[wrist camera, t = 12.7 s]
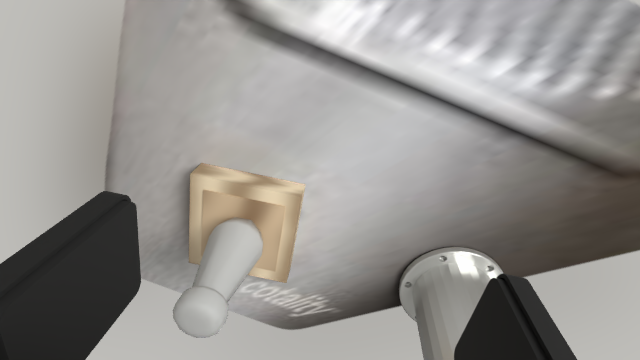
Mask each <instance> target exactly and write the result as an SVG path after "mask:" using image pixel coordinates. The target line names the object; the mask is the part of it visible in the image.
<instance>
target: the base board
mask: <svg viewBox="0 0 640 360" xmlns="http://www.w3.org/2000/svg"><path fill="white" fill-rule="evenodd" d="M304 190H305V184H300V183H296V182H291V181H286V180H281V179H276V178H271V177H267V176H262V175H257V174H252V173H247V172H242V171H237V170H233V169H228V168H223V167H218V166H213V165H208V164H203V163H201V164H200V165H199V166H198V167H197V168H196V169H195V170H194V171H193V172H192V173H191V174H190V220H189V263H193V264H198V265H200V263H201V260H202V257H203V254H204V251H205V248H206V245H207V242H208V239H209V236H210V235H211V233H212V231H213V230H214V228H215V227H216V226H217V225H219V224H221V223H223V222H225V221H227V220H230V219H232V218H234V217H237V218H243V219H249V220H252V221H253V223H254V224H255V225H256V227H257V228H258V229H259V231H260V232H261V235H262V240H263V250H262V256H261V257H260V258H259V260H258V261H257V263H256V264H255V265H254V267H253V268H252V269H251V271H250V272H249V274H248V275H251V276H255V277H260V278H265V279H270V280H274V281H279V282H284V283H286V282H287V279H288V275H289V271H290V267H291V262H292V257H293V251H294V245H295V240H296V234H297V229H298V223H299V218H300V212H301V207H302V201H303V196H304Z"/></svg>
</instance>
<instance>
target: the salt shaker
mask: <svg viewBox="0 0 640 360" xmlns="http://www.w3.org/2000/svg"><path fill="white" fill-rule="evenodd" d="M262 250H263V240H262V235H261V232H260V231H259V229H258V228H257V227H256V225H255V224H254V223H253V221H252V220H249V219H243V218H237V217H234V218H232V219H230V220H227V221H225V222H223V223H221V224H219V225H217V226H216V227H215V228H214V230H213V231H212V233H211V235H210V236H209V239H208V242H207V245H206V248H205V251H204V254H203V257H202V260H201V263H200V266H199V269H198V272H197V275H196V277H195V280H194V283H193V286H192V288H190V289H187V290H186V291H184V293H183V294H182V295H181V297H180V298H179V300H178V301H177V303H176V304H175V307H174V309H173V318H174V320H175V322H176V324H177V325H178V327H179V329H180V330H182V331H183V332H185V333H186V334H188V335H191V336H193V337H196V338H206V337H210V336H213V335H215V334H217V333H218V332H219V330H220V329H221V328H222V326H223V325H224V323H225V322H226V319H227V316H228V303H227V302H228V301H229V300H230V298H231V297H232V296H233V294H234V293H235V291H236V290H237V289H238V287H239V286H240V285H241V283H242V282H243V280H244V279H245V278H246V276H247V275H248V274H249V272H250V271H251V269H252V268H253V267H254V265H255V264H256V263H257V261H258V260H259V258H260V257H261V256H262Z"/></svg>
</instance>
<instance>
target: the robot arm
mask: <svg viewBox="0 0 640 360" xmlns="http://www.w3.org/2000/svg"><path fill="white" fill-rule="evenodd" d="M140 283H141V274H140V258H139V242H138V226H137V210H136V205H135V203H133V202H131V199H130V198H129V196H127V195H122V194H118V193H113V192H108V191H103V192H101V193H100V194H98V195H97V196H95V197H94V198H93V199H91V200H90V201H88V202H87V203H85V204H84V205H83V206H81V207H80V208H78V209H77V210H76V211H74V212H73V213H71V214H70V215H68V217H66V218H64V219H63V220H61V221H60V222H59V223H57V224H56V225H55V226H53V227H52V228H50V229H49V230H47V231H46V232H45V233H43V234H42V235H40V236H39V237H38V238H36V239H35V240H34V241H32V242H31V243H29V244H28V245H26V246H25V247H24V248H22V249H21V250H19V251H18V252H16V253H15V254H14V255H12V256H11V257H9V258H8V259H7V260H5V261H4V262H2V263H1V264H0V360H85V359H86V358H87V357H88V355H89V354H90V352H91V351H92V350H93V349H94V348H95V346H96V345H97V344H98V343H99V341H100V340H101V339H102V337H103V336H104V335H105V334H106V332H107V331H108V330H109V328H110V327H111V326H112V325H113V323H114V322H115V321H116V319H117V318H118V317H119V316H120V314H121V313H122V312H123V311H124V309H125V308H126V307H127V305H128V304H129V303H130V302H131V300H132V299H133V298H134V297H135V295H136V294H137V292H138V290H139V287H140ZM399 295H400V300H401V304H402V306H403V308H404V310H405V311H406V313H407V314H408V315H409V316H410V317H411V318H412V319H413V320H415V321H416V322H417V324H418V330H419V335H420V340H421V346H422V352H423V357H424V360H577V359H576V357H575V355H574V354H573V352H572V351H571V349H570V347H569V346H568V344H567V342H566V341H565V339H564V338H563V336H562V334H561V333H560V331H559V330H558V328H557V326H556V325H555V323H554V322H553V320H552V318H551V317H550V315H549V313H548V312H547V310H546V308H545V307H544V305H543V304H542V302H541V300H540V299H539V297H538V296H537V294H536V292H535V291H534V289H533V287H532V286H531V284H530V283H529V281H528V280H527V279H525V278H522V277H517V276H512V275H507V274H503V272H502V270H501V269H500V267H499V266H498V264H497V263H496V262H495V261H494V260H493V259H492V258H490V257H489V256H487V255H485V254H484V253H481V252H479V251H476V250H473V249H468V248H462V247H450V248H442V249H438V250H434V251H431V252H429V253H426V254H424V255H422V256H420V257H419V258H417V259H416V260H414V261H413V262H412V263H411V264H410V265H409V266H408V267H407V269H406V270H405V271H404V273H403V275H402V277H401V279H400V284H399Z"/></svg>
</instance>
